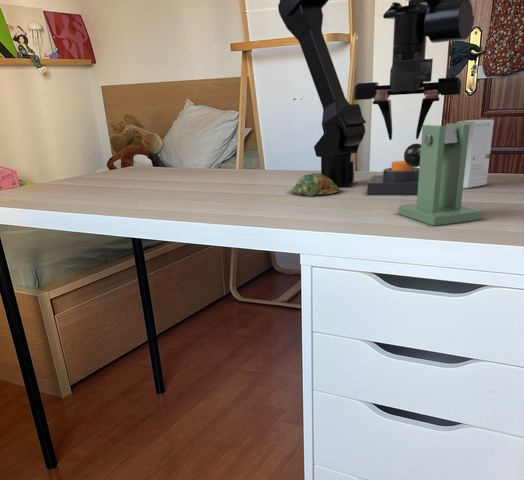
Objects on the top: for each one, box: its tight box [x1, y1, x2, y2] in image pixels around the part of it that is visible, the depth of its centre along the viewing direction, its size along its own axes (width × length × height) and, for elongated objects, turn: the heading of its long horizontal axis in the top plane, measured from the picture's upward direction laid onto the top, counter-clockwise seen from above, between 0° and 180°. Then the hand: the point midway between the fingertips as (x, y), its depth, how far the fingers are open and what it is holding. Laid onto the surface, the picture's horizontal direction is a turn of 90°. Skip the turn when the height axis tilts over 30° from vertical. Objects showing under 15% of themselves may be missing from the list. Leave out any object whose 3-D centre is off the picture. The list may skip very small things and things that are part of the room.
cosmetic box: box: [456, 119, 495, 189], centre depth 103 cm, size 6×4×12 cm
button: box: [390, 160, 412, 171], centre depth 103 cm, size 4×4×2 cm
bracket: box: [398, 122, 482, 227], centre depth 80 cm, size 10×8×13 cm
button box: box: [366, 167, 419, 196], centre depth 104 cm, size 12×10×4 cm
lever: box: [403, 126, 458, 168], centre depth 82 cm, size 11×4×4 cm, turn 18°
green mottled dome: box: [291, 173, 340, 197], centre depth 107 cm, size 10×4×10 cm
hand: (403, 139), depth 101 cm, fingers open, 5 cm apart
